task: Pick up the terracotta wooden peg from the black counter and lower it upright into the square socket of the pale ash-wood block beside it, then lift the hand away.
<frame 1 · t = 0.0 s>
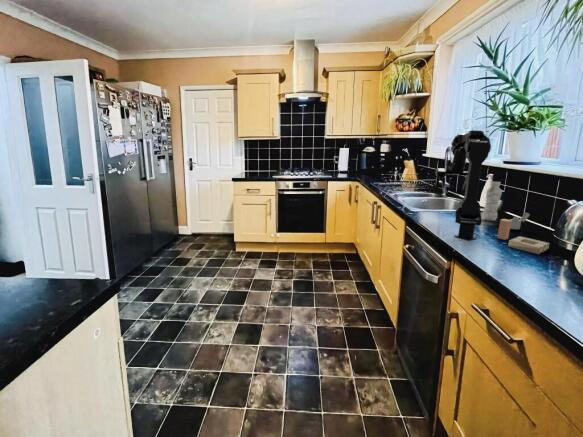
hand: (453, 189, 164), 15 cm above the countertop, tool pointing down, fingers open, 9 cm apart
socket block: (527, 247, 124), on the countertop
plastic bottle: (488, 220, 165), on the countertop
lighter: (517, 229, 151), on the countertop
peg: (502, 238, 135), on the countertop
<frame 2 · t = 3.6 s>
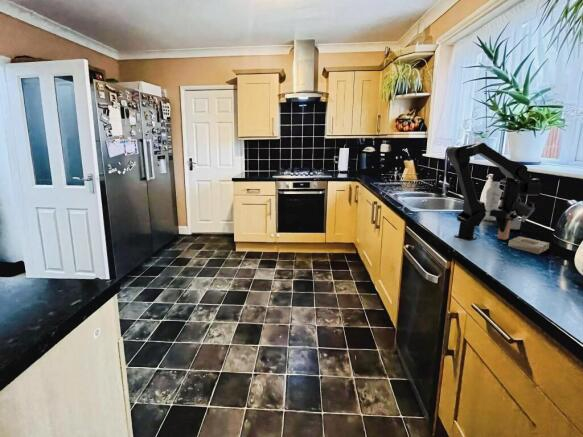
hand: (503, 231, 134), 3 cm above the countertop, tool pointing down, fingers closed on peg, 3 cm apart
peg: (502, 238, 135), on the countertop, touching gripper
everything else where it was.
when the fingers open (4 cm above the countertop, at t = 8.3 s): peg stays where it is, resting in socket block.
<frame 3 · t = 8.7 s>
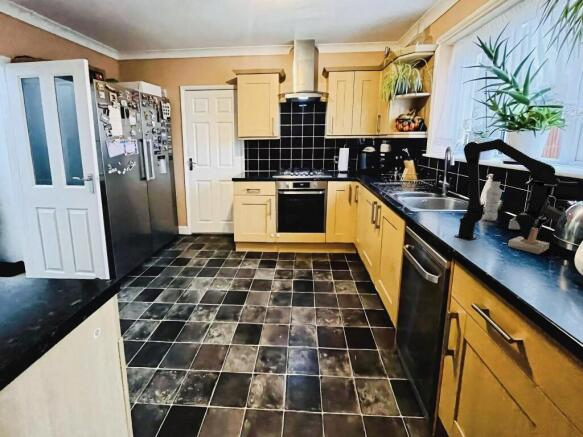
hand: (529, 237, 123), 4 cm above the countertop, tool pointing down, fingers open, 8 cm apart
peg: (527, 247, 124), resting in socket block
everything else where it was.
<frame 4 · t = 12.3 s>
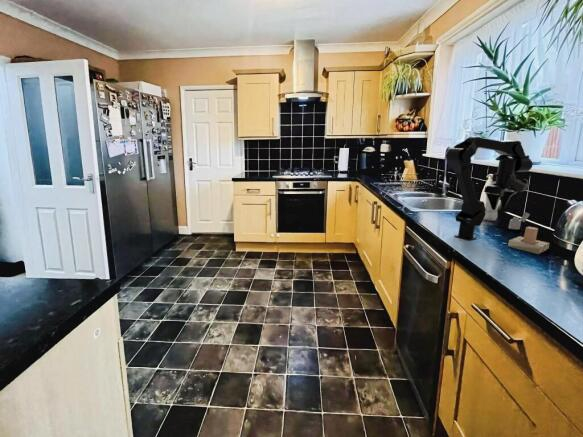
hand: (498, 208, 136), 12 cm above the countertop, tool pointing down, fingers open, 9 cm apart
nothing on the countertop moved.
at the end: peg 0.0 cm off-centre on the socket block, point 0.0 cm above the socket block's base; peg tilted 0°; the gripper is holding nothing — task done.
